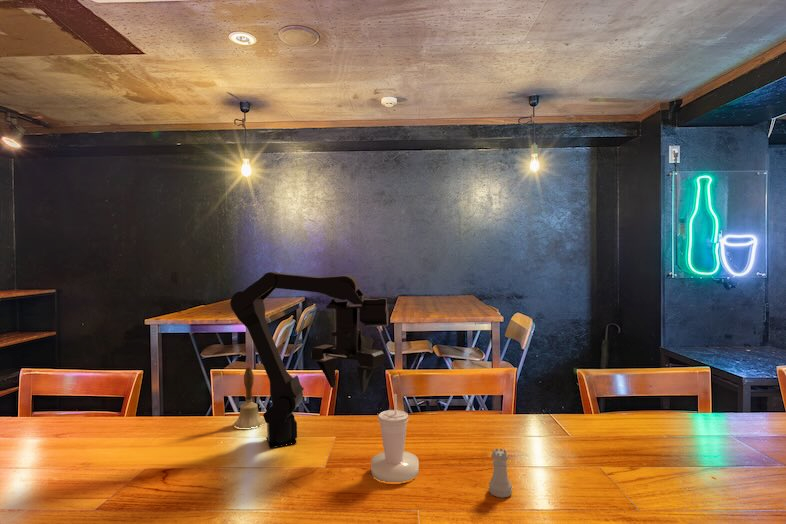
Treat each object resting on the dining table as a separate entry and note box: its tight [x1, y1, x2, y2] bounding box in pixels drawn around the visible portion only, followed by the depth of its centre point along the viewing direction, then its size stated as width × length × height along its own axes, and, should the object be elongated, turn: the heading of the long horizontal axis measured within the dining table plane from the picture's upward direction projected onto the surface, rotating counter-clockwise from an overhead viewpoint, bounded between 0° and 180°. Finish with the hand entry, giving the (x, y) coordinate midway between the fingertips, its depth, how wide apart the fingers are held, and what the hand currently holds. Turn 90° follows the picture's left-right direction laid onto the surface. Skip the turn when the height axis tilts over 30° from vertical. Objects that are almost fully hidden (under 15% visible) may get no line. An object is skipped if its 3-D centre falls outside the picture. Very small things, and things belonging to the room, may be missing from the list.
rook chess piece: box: [488, 448, 513, 499], centre depth 86 cm, size 4×4×8 cm
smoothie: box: [377, 393, 409, 465], centre depth 94 cm, size 6×6×14 cm
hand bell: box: [233, 366, 266, 428], centre depth 124 cm, size 8×8×16 cm
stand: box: [370, 450, 420, 482], centre depth 94 cm, size 10×10×2 cm
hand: (347, 390), depth 110 cm, fingers open, 9 cm apart
